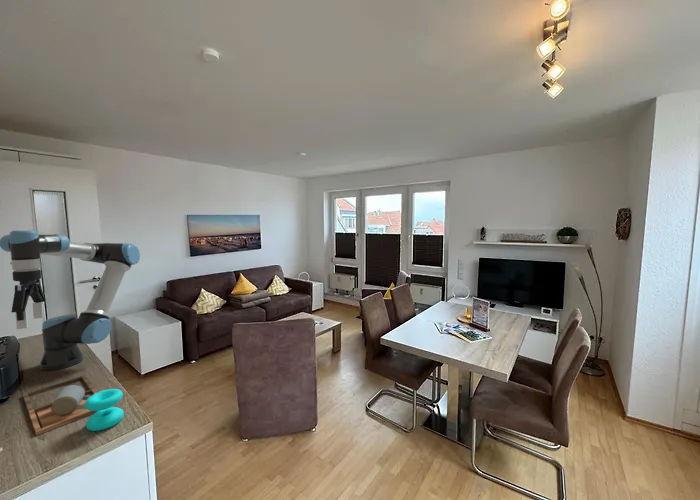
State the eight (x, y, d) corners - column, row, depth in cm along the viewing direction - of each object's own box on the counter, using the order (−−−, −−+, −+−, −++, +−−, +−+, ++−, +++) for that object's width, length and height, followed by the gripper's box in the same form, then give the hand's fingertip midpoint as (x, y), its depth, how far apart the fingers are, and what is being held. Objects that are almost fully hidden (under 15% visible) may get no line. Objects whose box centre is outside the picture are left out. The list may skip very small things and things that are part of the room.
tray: (22, 396, 116) (22, 393, 116) (84, 377, 131) (84, 375, 130) (36, 435, 95) (35, 432, 95) (108, 407, 110) (108, 404, 109)
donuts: (119, 384, 108) (125, 395, 101) (120, 409, 109) (126, 422, 102) (82, 395, 100) (86, 407, 94) (84, 423, 101) (88, 437, 94)
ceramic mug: (50, 419, 102) (49, 398, 101) (58, 406, 109) (57, 387, 108) (89, 411, 107) (89, 390, 107) (95, 399, 114) (94, 380, 114)
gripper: (28, 266, 124) (32, 315, 126) (-6, 275, 102) (-1, 334, 104) (52, 265, 128) (56, 313, 129) (24, 274, 106) (29, 331, 108)
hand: (31, 323), depth 117 cm, fingers open, 13 cm apart
